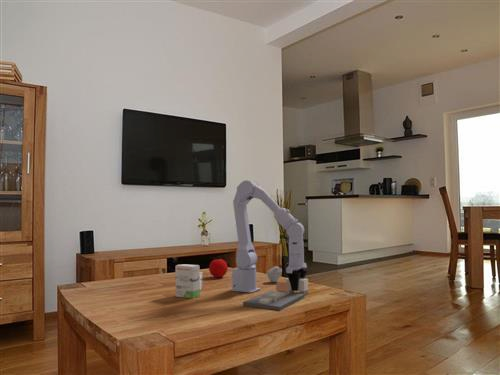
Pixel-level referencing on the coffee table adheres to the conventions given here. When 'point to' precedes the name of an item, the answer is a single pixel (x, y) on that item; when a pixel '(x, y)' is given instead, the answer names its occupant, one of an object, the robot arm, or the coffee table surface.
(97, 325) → the coffee table surface
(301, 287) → the block
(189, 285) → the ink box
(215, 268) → the ornament
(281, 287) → the rail clip
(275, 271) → the grey sculpted head
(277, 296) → the rail board
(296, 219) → the robot arm
